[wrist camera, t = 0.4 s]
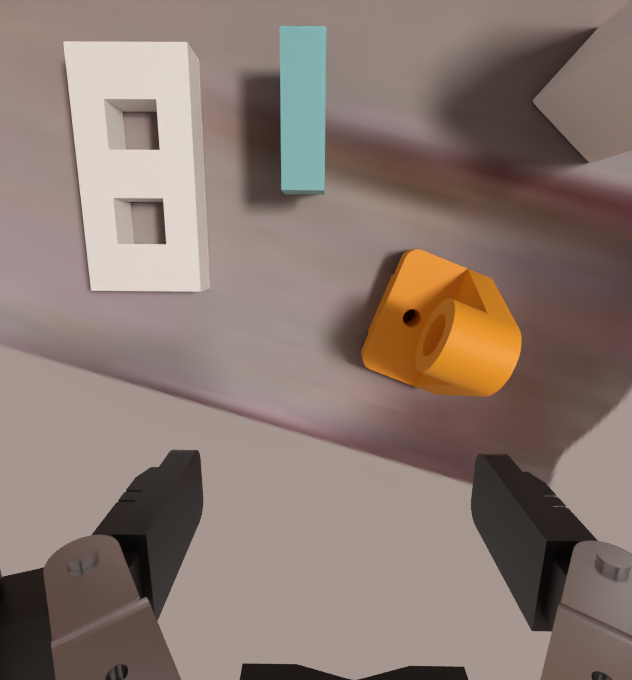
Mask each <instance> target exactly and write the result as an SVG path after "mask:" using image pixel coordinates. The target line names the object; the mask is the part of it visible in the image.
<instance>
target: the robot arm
mask: <svg viewBox="0 0 632 680" xmlns="http://www.w3.org/2000/svg"><path fill="white" fill-rule="evenodd" d="M202 509H203V489H202V475H201V460H200V454H199V451H198V450H172V451H170V452H169V453H168V455H167V456H166V458H165V459H164V461H163V462H162V463H161V465H160V466H159V467H151V468H149V469H148V470H146V471H145V472H143V473H142V474H140V475H139V476H137V477H136V478H135V479H134V480H133V482H132V483H131V484H130V486H129V487H128V488H127V490H126V492H124V493H123V495H122V496H121V497H120V499H119V502H117V503H116V504H115V506H114V507H113V508H112V509H111V510H110V512H109V513H108V514H107V516H106V517H105V518H104V519H103V521H102V522H101V524H100V525H99V526H98V527H97V529H96V530H95V531H94V533H93V534H92V535H91V536H87V537H83V538H80V539H77V540H75V541H72V542H70V543H68V544H66V545H65V546H63V547H62V548H60V549H59V550H57V551H56V552H55V553H54V554H53V555H52V556H51V557H50V558H49V559H48V561H47V563H46V564H45V567H44V568H40V569H36V570H31V571H27V572H22V573H18V574H13V575H8V576H4V577H2V575H1V571H0V680H181V678H180V676H179V673H178V671H177V668H176V666H175V664H174V661H173V659H172V656H171V654H170V652H169V649H168V647H167V644H166V642H165V639H164V637H163V634H162V632H161V629H160V627H159V624H158V622H157V621H158V618H159V616H160V613H161V611H162V609H163V606H164V604H165V602H166V600H167V597H168V595H169V592H170V590H171V588H172V585H173V583H174V581H175V578H176V576H177V574H178V571H179V569H180V567H181V564H182V562H183V559H184V557H185V555H186V552H187V550H188V548H189V545H190V543H191V541H192V538H193V536H194V534H195V531H196V529H197V526H198V524H199V522H200V519H201V515H202ZM471 511H472V517H473V520H474V523H475V525H476V528H477V529H478V531H479V533H480V535H481V537H482V539H483V541H484V542H485V544H486V546H487V548H488V550H489V552H490V554H491V556H492V557H493V559H494V561H495V563H496V565H497V567H498V569H499V571H500V572H501V574H502V576H503V578H504V580H505V582H506V584H507V585H508V587H509V589H510V591H511V593H512V595H513V597H514V599H515V600H516V602H517V604H518V606H519V608H520V610H521V612H522V613H523V615H524V617H525V619H526V621H527V623H528V625H529V627H530V628H531V630H532V631H552V634H551V639H550V643H549V647H548V651H547V655H546V659H545V663H544V667H543V671H542V675H541V680H632V554H631V553H630V552H628V551H626V550H624V549H622V548H620V547H617V546H615V545H612V544H609V543H605V542H600V541H598V540H597V539H596V538H595V537H594V536H593V535H592V534H591V533H590V532H589V531H588V530H587V528H586V527H585V526H584V525H583V524H582V523H581V522H580V521H579V520H578V519H577V517H576V516H575V515H574V514H573V513H572V512H571V511H570V510H569V509H568V508H566V506H565V504H564V503H563V502H562V501H561V500H560V499H559V498H557V497H556V494H555V493H554V492H553V491H552V490H551V489H550V488H549V487H548V486H547V484H546V483H545V482H543V481H541V480H540V479H538V478H537V477H535V476H533V475H532V474H530V473H529V472H522V471H521V470H520V468H519V467H518V466H517V465H516V464H515V463H514V461H513V460H512V459H511V458H510V457H509V456H508V455H507V454H478V456H477V458H476V462H475V470H474V479H473V489H472V498H471ZM240 680H350V679H346V678H342V677H339V676H335V675H332V674H328V673H325V672H322V671H318V670H314V669H311V668H308V667H304V666H301V665H297V664H243V665H242V670H241V676H240ZM359 680H468V677H467V675H466V671H465V668H464V667H445V666H443V667H442V666H408V667H404V668H400V669H396V670H393V671H389V672H385V673H382V674H378V675H374V676H371V677H367V678H363V679H359Z"/></svg>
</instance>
